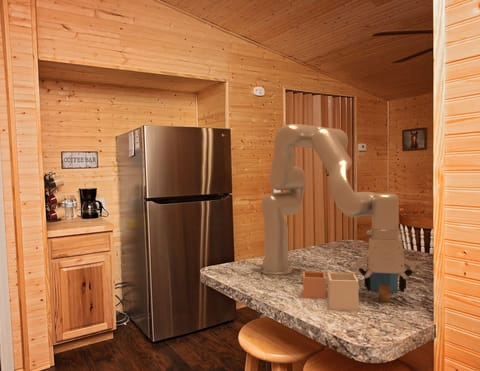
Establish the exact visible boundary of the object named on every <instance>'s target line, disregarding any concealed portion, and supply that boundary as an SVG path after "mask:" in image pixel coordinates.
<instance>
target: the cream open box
mask: <svg viewBox="0 0 480 371" xmlns="http://www.w3.org/2000/svg"><path fill="white" fill-rule="evenodd" d="M359 290H360V289H359V280H358V278H357V275H356V273H351V272H349V273H348V272H327V302H328V308H329V310H333V311H334V310H339V311H355V312H356V311H357V312H358V311H360V310H359V303H360V302H359V299H360V298H359V293H360V292H359Z"/></svg>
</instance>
